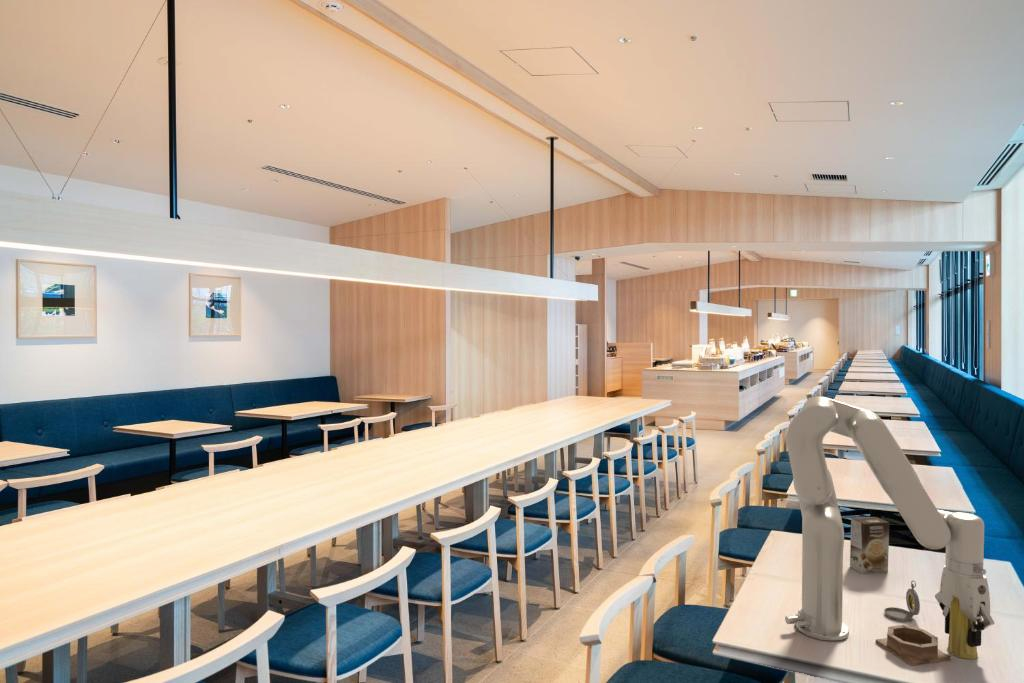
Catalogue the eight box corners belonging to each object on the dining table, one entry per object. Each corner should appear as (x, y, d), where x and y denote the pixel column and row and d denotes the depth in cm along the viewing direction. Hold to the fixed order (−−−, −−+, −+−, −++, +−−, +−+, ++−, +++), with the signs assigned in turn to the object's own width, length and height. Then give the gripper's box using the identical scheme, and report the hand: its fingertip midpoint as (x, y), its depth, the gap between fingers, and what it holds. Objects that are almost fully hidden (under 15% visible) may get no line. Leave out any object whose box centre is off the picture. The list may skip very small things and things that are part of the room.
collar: (911, 665, 154) (911, 649, 153) (875, 642, 164) (875, 627, 164) (950, 659, 156) (950, 644, 156) (912, 637, 167) (913, 622, 166)
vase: (979, 652, 159) (981, 594, 158) (975, 662, 155) (976, 603, 154) (949, 643, 163) (951, 587, 163) (944, 653, 159) (946, 595, 158)
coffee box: (862, 574, 206) (863, 523, 206) (849, 566, 213) (849, 517, 212) (889, 572, 208) (889, 522, 207) (875, 564, 214) (876, 515, 213)
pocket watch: (878, 613, 180) (879, 577, 179) (899, 607, 183) (900, 572, 183) (907, 626, 172) (907, 589, 172) (928, 620, 176) (929, 583, 175)
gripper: (1010, 578, 150) (1009, 655, 151) (946, 551, 167) (945, 621, 168) (983, 581, 149) (982, 659, 150) (921, 554, 166) (920, 624, 166)
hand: (962, 638), depth 159 cm, fingers closed on vase, 5 cm apart
